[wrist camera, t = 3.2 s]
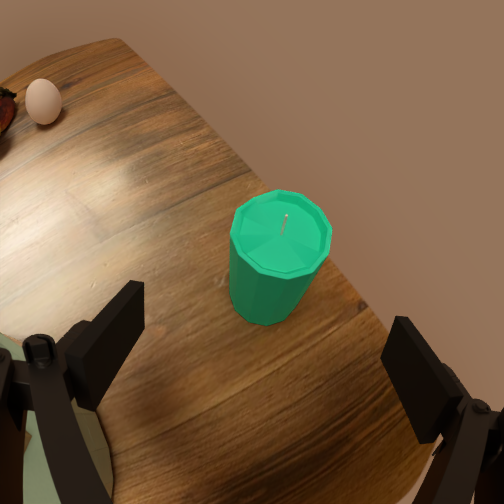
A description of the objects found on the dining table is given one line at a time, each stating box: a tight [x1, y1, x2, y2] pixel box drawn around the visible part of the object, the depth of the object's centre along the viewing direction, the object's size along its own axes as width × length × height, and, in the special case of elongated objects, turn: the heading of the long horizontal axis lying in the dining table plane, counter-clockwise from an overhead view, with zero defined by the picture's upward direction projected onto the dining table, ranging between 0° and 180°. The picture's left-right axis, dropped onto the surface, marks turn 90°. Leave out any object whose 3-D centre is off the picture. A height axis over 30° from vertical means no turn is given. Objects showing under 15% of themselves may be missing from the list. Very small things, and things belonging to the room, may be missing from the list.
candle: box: [229, 189, 332, 326], centre depth 23 cm, size 6×6×12 cm
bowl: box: [0, 332, 113, 504], centre depth 16 cm, size 21×21×6 cm
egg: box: [26, 79, 62, 124], centre depth 34 cm, size 5×5×8 cm
